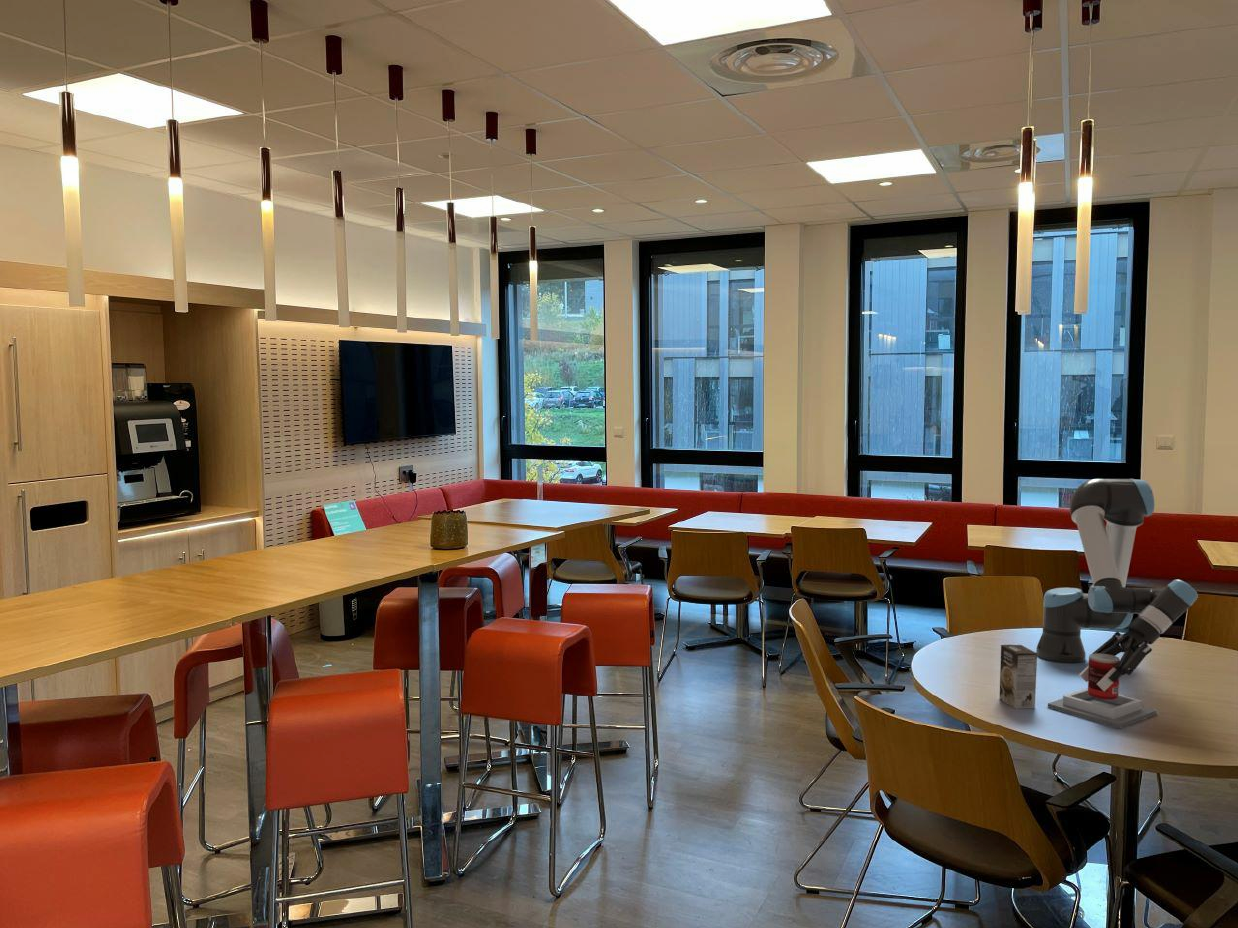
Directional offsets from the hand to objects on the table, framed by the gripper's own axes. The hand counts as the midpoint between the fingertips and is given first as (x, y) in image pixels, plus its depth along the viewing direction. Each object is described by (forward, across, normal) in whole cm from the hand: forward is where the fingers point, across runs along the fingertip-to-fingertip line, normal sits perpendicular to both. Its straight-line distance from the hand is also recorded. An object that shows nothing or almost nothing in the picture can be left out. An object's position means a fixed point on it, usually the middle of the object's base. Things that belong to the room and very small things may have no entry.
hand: (1091, 682), depth 254 cm
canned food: (0, 0, -5) cm, 5 cm away
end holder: (+3, 0, -8) cm, 9 cm away
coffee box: (+18, +8, +6) cm, 21 cm away
